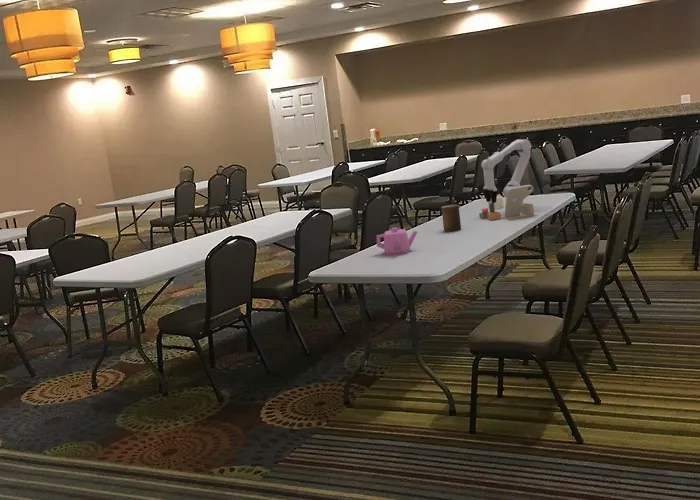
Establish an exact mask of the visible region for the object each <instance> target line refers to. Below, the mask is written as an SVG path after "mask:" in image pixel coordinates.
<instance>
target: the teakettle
mask: <svg viewBox="0 0 700 500" xmlns="http://www.w3.org/2000/svg"><path fill="white" fill-rule="evenodd" d="M417 234H418V231H415V230H413V232H412V233H411V235H410V236H409V237H408V233H407V231H406V229H404V228H402V229H401V228H400V229H399V228H398V227H393V228H391V230H385V231H384V233H382V234H377V235H376V247H378V248H380V249H382V250H384V252H385V254H386V256H395V255H396V254H397V255H403V254H402V253H405V254H408V253H407V252H409V253H410V249H411V246H412V244H413V242H414V240H415V238H416V236H417ZM381 238H383V242H381Z"/></svg>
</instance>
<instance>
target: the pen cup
mask: <svg viewBox="0 0 700 500" xmlns="http://www.w3.org/2000/svg"><path fill="white" fill-rule="evenodd" d="M489 212H490V211H489ZM487 214H488V218H487V220H488V221H491V220H493V221H498V219H499V220H502V216H501V211H496V210H495V212H490V213H487Z"/></svg>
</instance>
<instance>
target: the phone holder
mask: <svg viewBox="0 0 700 500" xmlns="http://www.w3.org/2000/svg"><path fill="white" fill-rule="evenodd" d="M529 188H530V189H529ZM533 191H534V186H533V185H532V184H526V185H525V184H524V185H520V186H518V187H513V188H509V189H508V190H507V196H506V195H505V208H504V216H501V220H506V219H507V220H506V221H512V219H513V220H518V219H523V217H524V218H528V217H533V216H535V210H534V204H533V203H523V204H521V202H522V200H523V201H524V200H525V199H526V198H527V197H528V196H530V194H532V193H533ZM514 196H516V197H517V199H516V200H515V201H513V200H512V198H513V197H514ZM520 210H521V211H520ZM517 218H518V219H517Z"/></svg>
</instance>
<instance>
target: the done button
mask: <svg viewBox="0 0 700 500" xmlns="http://www.w3.org/2000/svg"><path fill="white" fill-rule="evenodd" d="M488 212H489V207H487V208H481V213H483V214H485V213H488Z"/></svg>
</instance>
